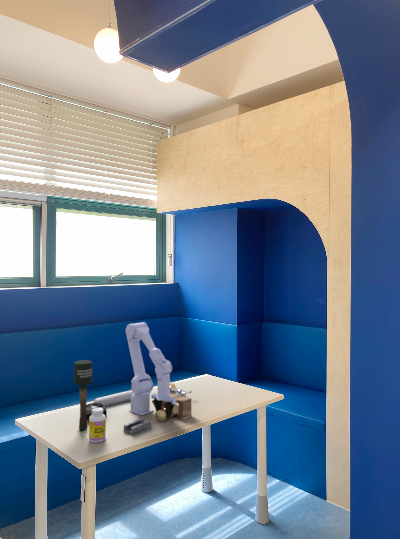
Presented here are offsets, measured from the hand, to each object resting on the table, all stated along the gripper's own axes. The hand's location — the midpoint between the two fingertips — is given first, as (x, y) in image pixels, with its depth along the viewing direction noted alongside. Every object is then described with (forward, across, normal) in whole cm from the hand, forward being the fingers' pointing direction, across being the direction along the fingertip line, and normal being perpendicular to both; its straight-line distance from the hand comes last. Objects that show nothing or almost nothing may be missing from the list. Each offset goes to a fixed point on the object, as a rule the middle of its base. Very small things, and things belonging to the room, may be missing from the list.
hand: (163, 416), depth 198 cm
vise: (+2, -18, +27) cm, 32 cm away
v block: (+1, 0, -16) cm, 17 cm away
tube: (+2, -36, +1) cm, 36 cm away
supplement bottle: (+2, -5, -34) cm, 35 cm away
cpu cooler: (+2, -28, -19) cm, 34 cm away
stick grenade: (+2, -19, -32) cm, 37 cm away
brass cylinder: (+2, 0, +2) cm, 3 cm away
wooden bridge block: (+1, 0, +8) cm, 9 cm away
